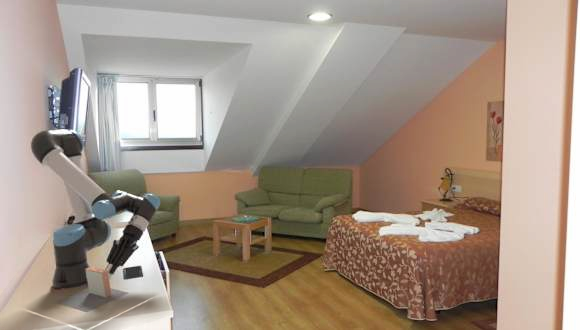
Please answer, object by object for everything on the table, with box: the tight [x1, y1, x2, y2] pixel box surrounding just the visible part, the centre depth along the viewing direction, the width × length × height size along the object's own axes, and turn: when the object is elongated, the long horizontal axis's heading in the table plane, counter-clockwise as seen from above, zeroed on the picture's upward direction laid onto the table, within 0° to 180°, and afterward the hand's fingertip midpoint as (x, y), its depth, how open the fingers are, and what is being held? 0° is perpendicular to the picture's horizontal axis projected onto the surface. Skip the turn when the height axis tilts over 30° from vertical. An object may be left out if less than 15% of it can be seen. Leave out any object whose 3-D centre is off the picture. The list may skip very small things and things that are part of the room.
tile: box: [85, 266, 111, 298], centre depth 161 cm, size 10×2×10 cm, turn 60°
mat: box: [55, 287, 129, 313], centre depth 160 cm, size 18×18×1 cm
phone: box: [122, 265, 144, 280], centre depth 185 cm, size 8×1×15 cm
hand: (103, 280), depth 163 cm, fingers closed
